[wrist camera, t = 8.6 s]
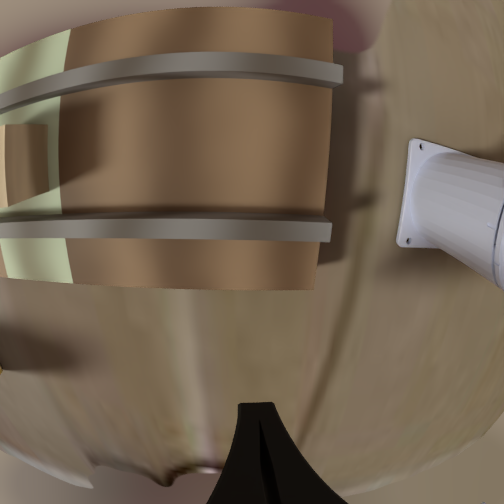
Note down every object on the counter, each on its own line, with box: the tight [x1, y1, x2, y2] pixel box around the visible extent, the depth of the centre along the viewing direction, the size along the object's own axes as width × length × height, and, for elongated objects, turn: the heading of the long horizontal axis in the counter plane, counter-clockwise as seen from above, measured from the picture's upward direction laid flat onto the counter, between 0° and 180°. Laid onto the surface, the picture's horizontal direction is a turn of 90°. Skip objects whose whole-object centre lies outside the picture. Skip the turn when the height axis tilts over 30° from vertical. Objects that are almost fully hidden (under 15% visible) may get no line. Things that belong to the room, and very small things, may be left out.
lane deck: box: [0, 7, 343, 290], centre depth 13 cm, size 32×16×4 cm, turn 87°
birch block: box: [0, 124, 49, 208], centre depth 11 cm, size 4×4×4 cm
